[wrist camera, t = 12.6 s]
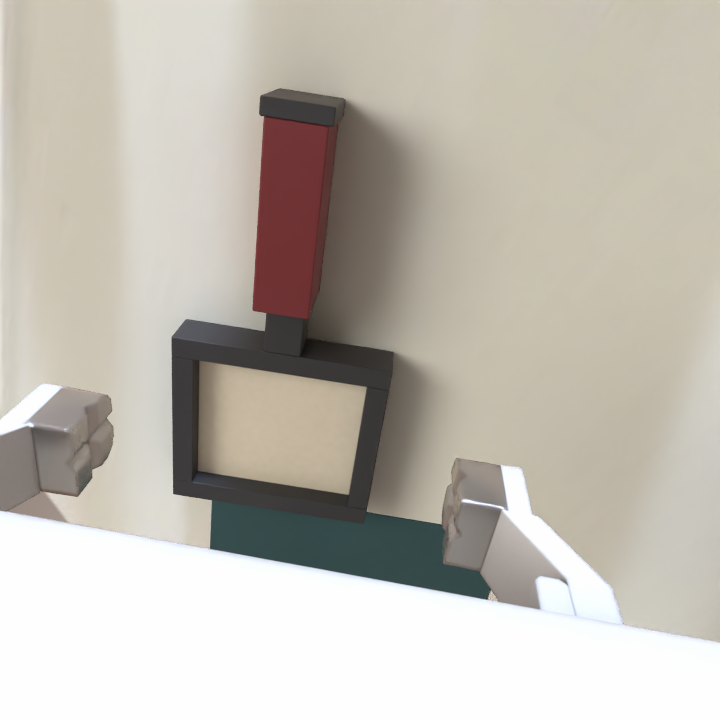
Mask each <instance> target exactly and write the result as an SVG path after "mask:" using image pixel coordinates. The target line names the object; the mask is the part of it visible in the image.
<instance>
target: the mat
mask: <svg viewBox="0 0 720 720" xmlns="http://www.w3.org/2000/svg"><path fill="white" fill-rule="evenodd" d="M444 534H445V530H444V529H443V527H442V525H441V524H435V523H429V522H423V521H417V520H411V519H405V518H399V517H393V516H386V515H380V514H374V513H368V512H366V515H365V521H364V524H359V523H353V522H347V521H340V520H334V519H328V518H322V517H315V516H309V515H303V514H296V513H290V512H284V511H277V510H271V509H265V508H258V507H252V506H246V505H240V504H233V503H227V502H221V501H214V500H212V516H211V541H210V549H213V550H218V551H224V552H229V553H235V554H240V555H246V556H251V557H256V558H262V559H267V560H273V561H278V562H284V563H289V564H295V565H300V566H306V567H311V568H317V569H322V570H327V571H333V572H338V573H344V574H349V575H355V576H360V577H366V578H371V579H377V580H382V581H388V582H393V583H398V584H404V585H409V586H415V587H420V588H426V589H431V590H437V591H442V592H448V593H453V594H458V595H464V596H469V597H475V598H480V599H486V600H487V597H488V595H489V592H490V587H489V586H488V584H487V583H486V581H485V580H484V578H483V577H482V575H481V574H480V572H481V571H476V570H471V569H467V568H462V567H457V566H452V565H448V564H443V545H442V541H443V537H444Z"/></svg>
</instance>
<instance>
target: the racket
mask: <svg viewBox="0 0 720 720" xmlns="http://www.w3.org/2000/svg"><path fill="white" fill-rule="evenodd" d="M344 107H345V99H344V98H337V97H331V96H325V95H318V94H312V93H306V92H299V91H293V90H287V89H277V90H274V91H272V92H269V93H266V94H264V95H261V96H260V109H259V114H260V115H261V116H265V117H264V123H263V140H262V157H261V174H260V191H259V209H258V226H257V243H256V260H255V277H254V294H253V311H257V312H264V313H266V327H265V332H264V331H257V330H251V329H245V328H239V327H232V326H226V325H220V324H213V323H207V322H201V321H194V320H188V319H186V320H185V321H184V322H183V324H182V325H181V326H180V327H179V329H178V330H177V331H176V332H175V334H174V335H173V336H172V418H173V494H176V495H183V496H189V497H195V498H202V499H208V500H214V501H221V502H227V503H233V504H240V505H246V506H252V507H258V508H265V509H271V510H277V511H284V512H290V513H296V514H303V515H309V516H315V517H322V518H328V519H334V520H340V521H347V522H353V523H359V524H364V521H365V515H366V510H367V505H368V499H369V494H370V489H371V483H372V478H373V473H374V467H375V462H376V457H377V451H378V446H379V441H380V435H381V430H382V425H383V420H384V414H385V409H386V404H387V398H388V393H389V388H390V382H391V377H392V370H393V352H390V351H384V350H378V349H371V348H365V347H359V346H352V345H346V344H340V343H333V342H327V341H321V340H314V339H308V338H307V333H308V323H309V317H310V314H311V311H312V309H313V306H314V303H315V300H316V298H317V295H318V292H319V290H320V281H321V272H322V263H323V254H324V246H325V237H326V228H327V219H328V211H329V202H330V193H331V184H332V175H333V167H334V158H335V149H336V140H337V131H338V123H339V120H340V119H341V118H342V117H343V115H344Z"/></svg>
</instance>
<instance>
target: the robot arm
mask: <svg viewBox="0 0 720 720" xmlns="http://www.w3.org/2000/svg"><path fill="white" fill-rule="evenodd" d="M111 412H112V404H111V398H110V397H109V396H108V395H105V394H100V393H95V392H90V391H85V390H80V389H75V388H70V387H64V386H59V385H54V384H48V383H45V384H40V385H39V386H38V387H37V388H36V389H35V390H33V391H32V392H31V393H30V394H29V395H28V396H27V397H26V398H24V399H23V400H22V401H21V402H20V403H19V404H18V405H17V406H15V407H14V408H13V409H12V410H11V411H10V412H9V413H8V414H7V415H5V416H4V417H3V418H2V419H0V720H720V642H715V641H710V640H704V639H699V638H693V637H687V636H682V635H676V634H671V633H665V632H660V631H654V630H649V629H643V628H638V627H633V626H627V625H624V622H623V619H622V616H621V613H620V610H619V607H618V604H617V601H616V598H615V595H614V592H613V589H612V587H611V586H610V585H609V584H608V583H607V582H606V581H605V580H604V579H603V578H602V577H601V576H600V575H599V574H597V573H596V572H595V571H594V570H593V569H592V568H591V567H590V566H589V565H588V564H587V563H586V562H585V561H584V560H583V559H582V558H581V557H580V556H579V555H578V554H577V553H576V552H575V551H574V550H573V549H572V548H571V547H570V546H569V545H568V544H567V543H566V542H565V541H564V540H563V539H562V538H561V537H560V536H558V535H557V534H556V533H555V532H554V531H553V530H552V529H551V528H550V527H549V526H548V525H547V524H546V523H545V522H544V521H543V520H542V519H541V518H540V517H539V516H534V515H533V514H532V509H531V505H530V500H529V496H528V491H527V487H526V482H525V478H524V473H523V470H522V469H521V468H519V467H513V466H506V465H495V464H489V463H484V462H478V461H472V460H466V459H460V458H456V460H455V462H454V465H453V468H452V471H451V474H452V484H450V485H449V486H448V487H447V490H446V494H445V498H444V504H443V510H442V527H443V529H444V530H445V534H444V537H443V541H442V545H443V564H448V565H452V566H457V567H462V568H467V569H471V570H476V571H481V572H480V574H481V575H482V577H483V578H484V580H485V581H486V583H487V584H488V586H489V587H490V589H491V590H492V592H493V593H494V595H495V596H496V598H497V599H498V601H499V602H496V601H491V600H486V599H480V598H475V597H469V596H464V595H458V594H453V593H448V592H442V591H437V590H431V589H426V588H420V587H415V586H409V585H404V584H398V583H393V582H388V581H382V580H377V579H371V578H366V577H360V576H355V575H349V574H344V573H338V572H333V571H327V570H322V569H317V568H311V567H306V566H300V565H295V564H289V563H284V562H278V561H273V560H267V559H262V558H256V557H251V556H246V555H240V554H235V553H229V552H224V551H218V550H213V549H207V548H202V547H197V546H191V545H186V544H180V543H175V542H169V541H164V540H158V539H153V538H148V537H142V536H137V535H131V534H126V533H120V532H115V531H109V530H104V529H98V528H93V527H88V526H82V525H77V524H71V523H66V522H60V521H55V520H49V519H44V518H38V517H33V516H28V515H22V514H16V513H11V512H7V511H9V510H10V509H12V508H14V507H16V506H18V505H19V504H21V503H23V502H25V501H27V500H28V499H30V498H32V497H34V496H35V495H37V494H39V493H40V491H43V492H49V493H56V494H62V495H69V496H75V497H78V496H79V495H80V493H81V492H82V491H83V489H84V488H85V487H86V485H87V484H88V483H89V482H90V480H91V479H92V469H95V468H97V467H99V466H101V465H102V464H103V463H104V462H105V460H106V459H107V457H108V455H109V453H110V450H111V448H112V444H113V437H114V433H113V426H112V424H111V423H110V422H109V421H108V419H107V417H108V415H109V414H110V413H111Z"/></svg>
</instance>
